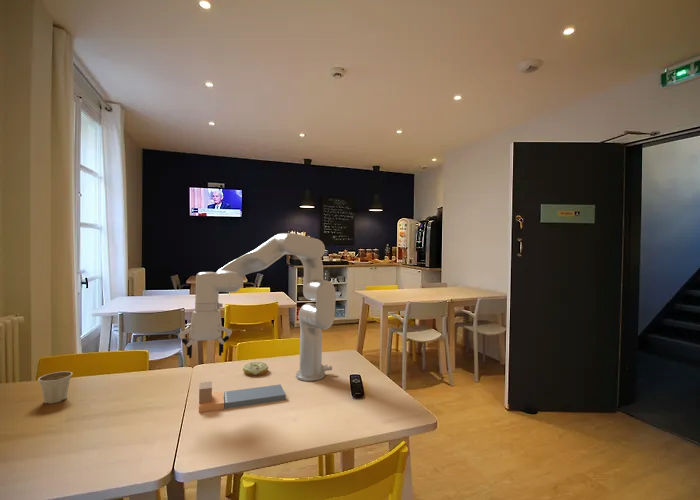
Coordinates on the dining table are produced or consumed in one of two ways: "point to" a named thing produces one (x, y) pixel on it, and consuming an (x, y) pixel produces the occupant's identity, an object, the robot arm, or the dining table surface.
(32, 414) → the dining table surface
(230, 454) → the dining table surface
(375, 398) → the dining table surface
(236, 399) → the board
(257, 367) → the decorated donut
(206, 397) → the stub
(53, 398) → the flower pot
